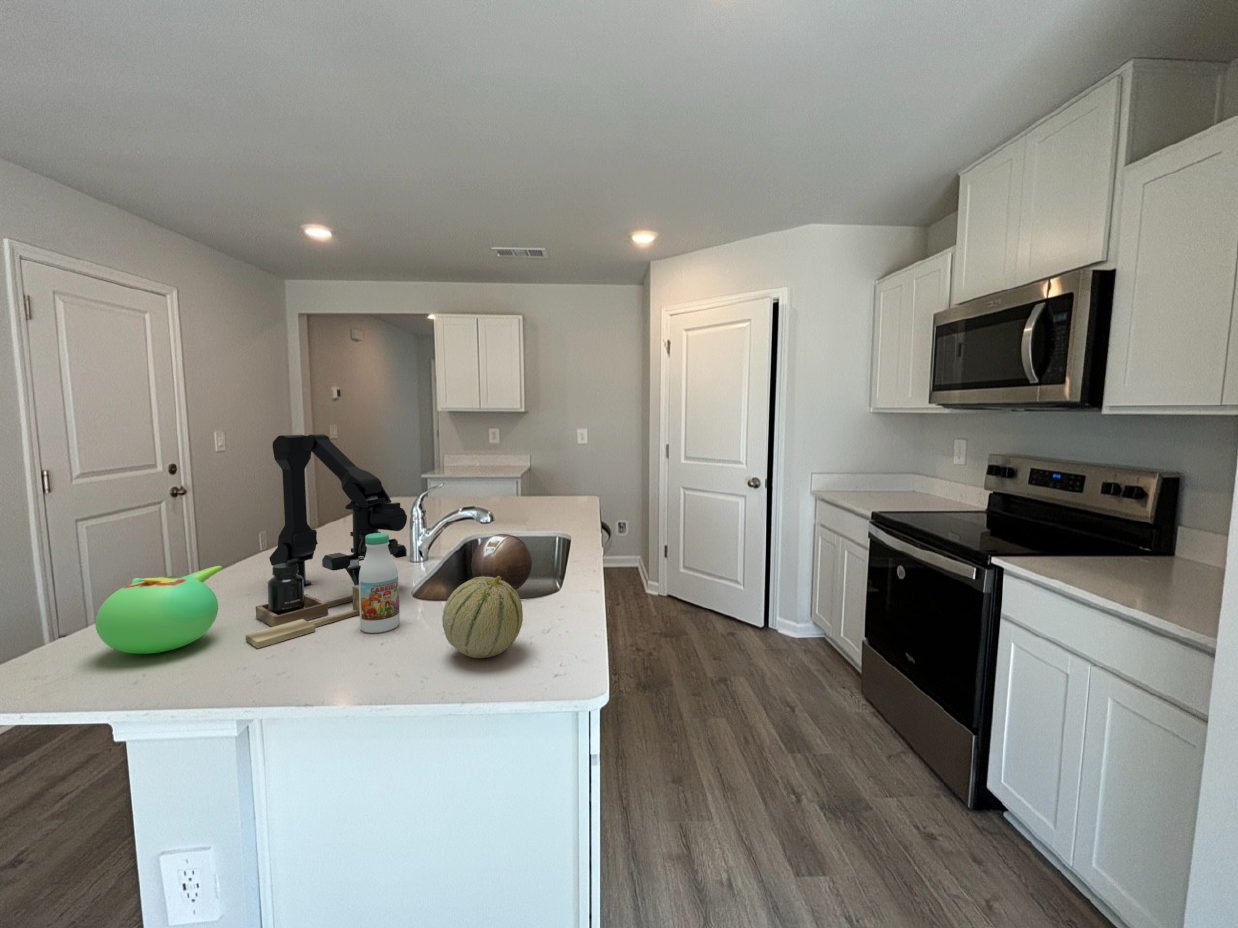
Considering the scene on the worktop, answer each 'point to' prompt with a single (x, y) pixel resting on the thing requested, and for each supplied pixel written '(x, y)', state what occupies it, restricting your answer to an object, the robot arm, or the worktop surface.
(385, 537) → the milk bottle
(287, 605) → the supplement bottle
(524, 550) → the wooden sphere
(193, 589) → the green spouted ovoid
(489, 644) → the cantaloupe
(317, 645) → the worktop surface
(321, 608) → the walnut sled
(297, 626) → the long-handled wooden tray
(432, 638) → the worktop surface
